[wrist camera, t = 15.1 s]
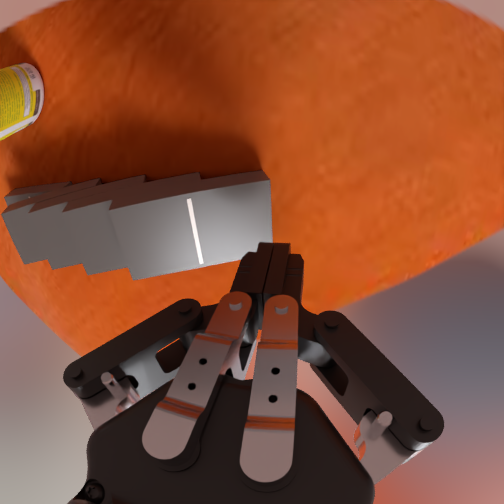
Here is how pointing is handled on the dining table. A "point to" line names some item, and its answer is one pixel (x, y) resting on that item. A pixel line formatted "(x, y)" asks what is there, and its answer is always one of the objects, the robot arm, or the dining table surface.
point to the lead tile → (193, 223)
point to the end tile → (32, 191)
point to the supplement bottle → (19, 98)
